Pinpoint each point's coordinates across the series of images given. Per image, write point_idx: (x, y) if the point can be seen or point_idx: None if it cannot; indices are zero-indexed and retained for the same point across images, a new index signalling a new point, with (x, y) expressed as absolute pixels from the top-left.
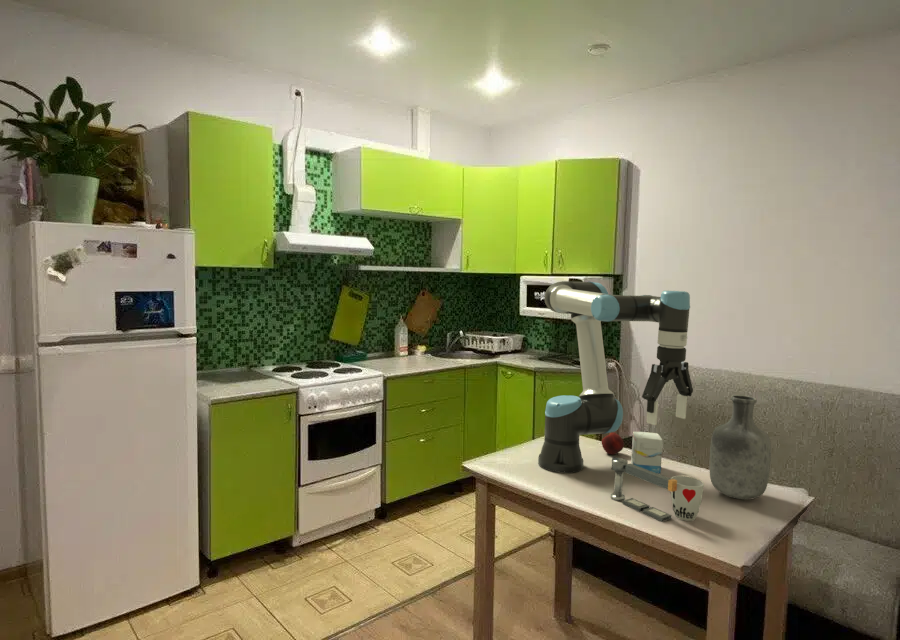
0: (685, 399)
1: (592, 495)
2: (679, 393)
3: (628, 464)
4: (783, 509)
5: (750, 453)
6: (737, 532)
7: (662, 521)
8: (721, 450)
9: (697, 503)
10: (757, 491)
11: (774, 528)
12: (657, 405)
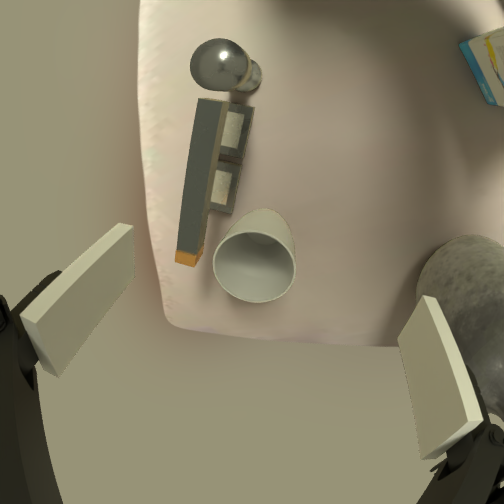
0: (418, 441)
1: (211, 29)
2: (483, 430)
3: (206, 103)
4: None
5: None
6: (271, 310)
7: None
8: (454, 323)
9: (248, 272)
10: None
11: (333, 343)
12: (70, 355)
